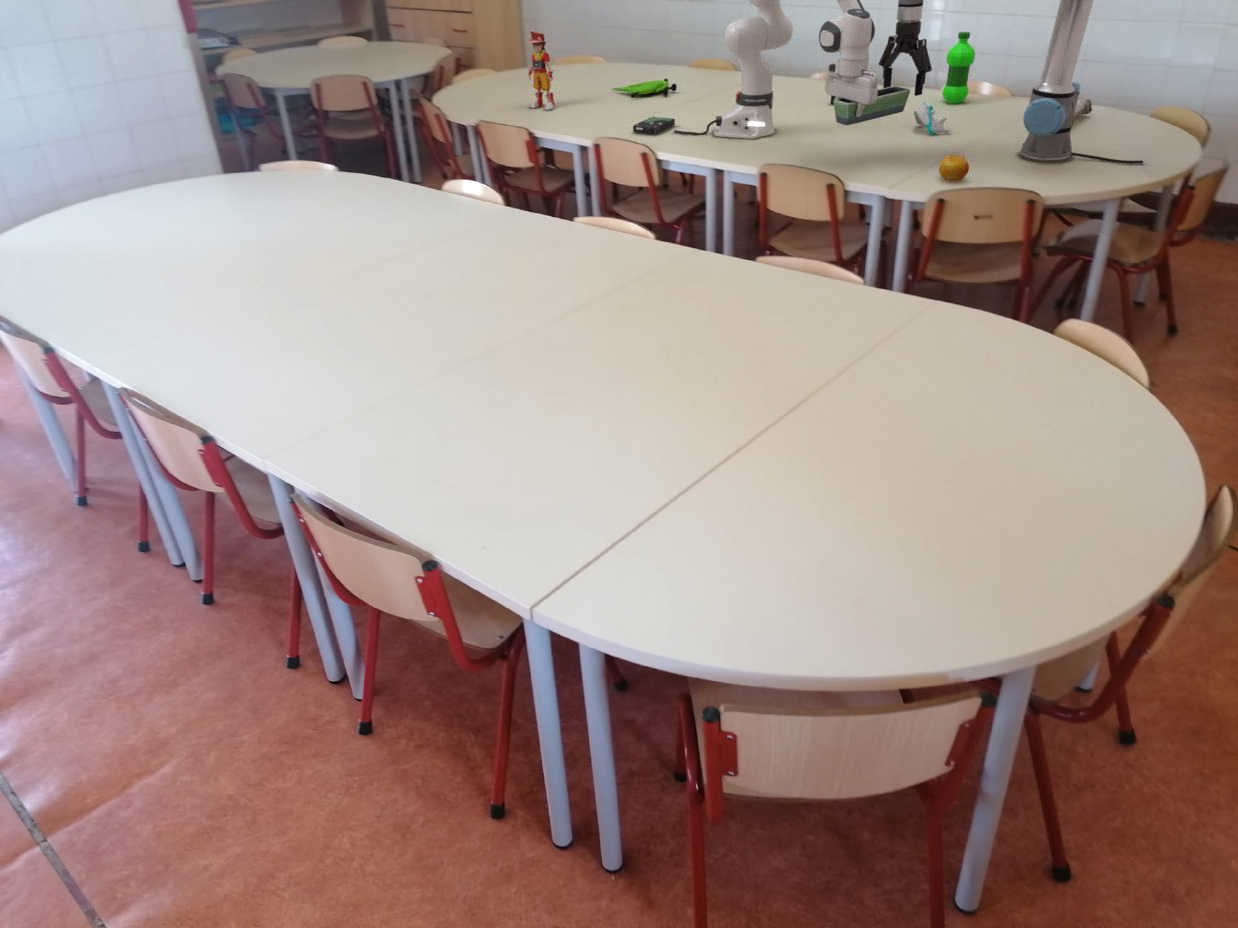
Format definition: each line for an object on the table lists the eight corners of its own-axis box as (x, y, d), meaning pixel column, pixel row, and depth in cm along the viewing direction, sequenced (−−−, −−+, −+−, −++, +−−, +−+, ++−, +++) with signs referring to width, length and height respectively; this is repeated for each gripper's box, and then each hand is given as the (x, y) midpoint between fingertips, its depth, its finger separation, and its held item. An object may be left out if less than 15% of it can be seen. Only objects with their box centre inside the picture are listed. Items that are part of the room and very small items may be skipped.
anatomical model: (908, 101, 325) (935, 94, 324) (909, 130, 331) (936, 123, 330) (923, 112, 313) (951, 104, 312) (924, 141, 319) (952, 134, 318)
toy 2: (686, 85, 398) (631, 84, 414) (685, 72, 395) (629, 72, 411) (651, 104, 381) (596, 103, 397) (650, 92, 378) (594, 91, 394)
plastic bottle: (973, 101, 354) (984, 32, 339) (955, 106, 349) (966, 36, 335) (952, 97, 361) (962, 29, 346) (934, 102, 356) (944, 33, 342)
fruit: (933, 171, 274) (950, 147, 271) (934, 173, 282) (951, 150, 279) (956, 186, 273) (974, 163, 270) (956, 188, 281) (973, 165, 278)
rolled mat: (1059, 103, 333) (1083, 86, 324) (1072, 124, 333) (1097, 107, 325) (1027, 125, 315) (1052, 107, 307) (1041, 147, 316) (1067, 130, 308)
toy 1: (525, 109, 381) (517, 32, 364) (534, 104, 388) (527, 28, 371) (550, 110, 377) (543, 32, 360) (559, 105, 384) (553, 28, 367)
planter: (846, 127, 284) (848, 104, 280) (830, 123, 289) (832, 99, 285) (908, 112, 295) (911, 89, 291) (892, 108, 300) (895, 85, 296)
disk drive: (656, 136, 337) (675, 125, 347) (656, 128, 335) (675, 118, 345) (632, 133, 342) (652, 123, 352) (632, 125, 340) (651, 115, 350)
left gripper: (885, 71, 273) (879, 118, 281) (838, 61, 287) (834, 106, 295) (869, 74, 270) (864, 122, 278) (823, 64, 285) (819, 109, 293)
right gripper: (948, 22, 274) (940, 95, 286) (888, 16, 292) (882, 85, 304) (931, 26, 271) (923, 99, 283) (871, 19, 289) (866, 89, 301)
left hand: (848, 114), depth 287 cm, fingers closed on planter, 6 cm apart
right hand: (902, 92), depth 294 cm, fingers open, 13 cm apart
